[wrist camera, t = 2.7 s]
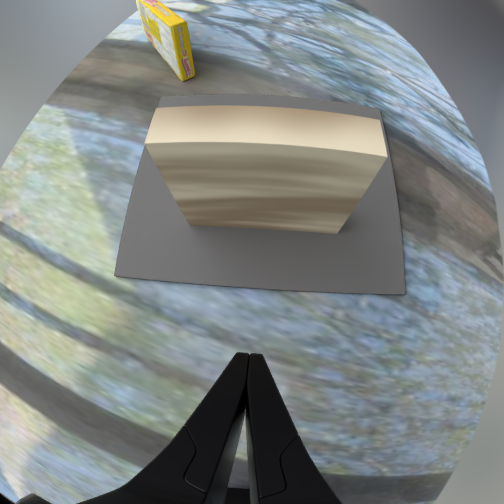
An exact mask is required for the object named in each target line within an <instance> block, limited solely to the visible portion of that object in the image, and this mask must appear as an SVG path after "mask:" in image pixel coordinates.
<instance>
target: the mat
mask: <svg viewBox="0 0 504 504" xmlns="http://www.w3.org/2000/svg"><path fill="white" fill-rule="evenodd" d="M219 105H229V106H265V107H282V108H295V109H306V110H316V111H325V112H333V113H340V114H347V115H354V116H360V117H366V118H372V119H377V120H380V123H381V128H382V132H383V137H384V141H385V146H386V151H387V156H388V157H387V159H386V160H385V162H384V163H383V165H382V167H381V168H380V170H379V171H378V173H377V175H376V176H375V178H374V179H373V181H372V182H371V184H370V185H369V187H368V188H367V190H366V192H365V193H364V195H363V196H362V198H361V199H360V201H359V202H358V204H357V205H356V207H355V208H354V210H353V211H352V213H351V214H350V216H349V217H348V219H347V220H346V222H345V223H344V224H343V226H342V227H341V229H340V230H339V232H338V233H337V234H331V233H318V232H303V231H289V230H273V229H257V228H239V227H221V226H201V225H189V224H188V222H187V220H186V219H185V217H184V215H183V213H182V211H181V210H180V208H179V206H178V204H177V203H176V201H175V199H174V197H173V195H172V194H171V192H170V190H169V188H168V186H167V185H166V183H165V181H164V179H163V177H162V176H161V174H160V172H159V170H158V168H157V166H156V164H155V163H154V161H153V159H152V157H151V155H150V153H149V151H148V150H147V148H146V146H144V150H143V153H142V156H141V160H140V163H139V167H138V170H137V174H136V177H135V181H134V185H133V188H132V192H131V196H130V200H129V204H128V209H127V213H126V217H125V222H124V226H123V231H122V236H121V241H120V246H119V251H118V256H117V262H116V268H115V273H114V276H116V277H125V278H135V279H145V280H155V281H165V282H176V283H188V284H200V285H212V286H225V287H239V288H253V289H269V290H286V291H305V292H326V293H352V294H385V295H405V275H404V258H403V245H402V234H401V224H400V216H399V208H398V200H397V193H396V187H395V180H394V174H393V169H392V163H391V158H390V153H389V148H388V143H387V139H386V134H385V130H384V125H383V121H382V117H381V113H380V109H378V108H372V107H367V106H361V105H355V104H349V103H342V102H335V101H328V100H319V99H310V98H300V97H288V96H273V95H249V94H206V95H182V96H167V97H161V100H160V102H159V105H158V108H165V107H182V106H219Z"/></svg>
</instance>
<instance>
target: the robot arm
mask: <svg viewBox="0 0 504 504" xmlns="http://www.w3.org/2000/svg"><path fill="white" fill-rule="evenodd" d="M245 409H246V413H245ZM244 416H246V437H247V454H248V471H249V486H250V489H237V488H227V486H228V482H229V478H230V474H231V470H232V466H233V462H234V458H235V454H236V450H237V446H238V442H239V438H240V433H241V429H242V425H243V421H244ZM184 425H185V426H183V427H182V428H181V429H180V431H179V432H178V433H177V434H176V436H175V437H174V438H173V439H172V440H171V442H170V443H169V444H168V445H167V446H166V447H165V448H164V449H163V450H162V451H161V452H160V453H159V454H158V455H157V456H156V457H155V458H154V459H153V460H152V461H151V462H150V463H149V464H148V465H147V466H146V467H145V468H144V469H143V470H141V471H140V472H139V473H138V474H137V475H136V476H135V477H134V478H133V479H131V480H130V481H129V482H128V483H126V484H125V485H123V486H122V487H120V488H118V489H116V490H114V491H111V492H108V493H106V494H103V495H100V496H98V497H95V498H92V499H89V500H86V501H83V502H80V503H77V504H342V502H341V501H340V500H339V499H338V497H337V496H336V495H335V493H334V492H333V491H332V489H331V488H330V486H329V485H328V483H327V482H326V481H325V479H324V478H323V476H322V475H321V473H320V472H319V471H318V469H317V467H316V466H315V464H314V463H313V461H312V459H311V458H310V456H309V454H308V452H307V450H306V448H305V446H304V445H303V442H302V440H301V438H300V436H299V435H298V432H297V430H296V428H295V426H294V423H293V421H292V419H291V417H290V415H289V412H288V410H287V408H286V406H285V404H284V401H283V399H282V397H281V395H280V393H279V390H278V388H277V386H276V384H275V381H274V379H273V377H272V375H271V372H270V370H269V368H268V365H267V363H266V361H265V359H264V356H263V355H262V354H256V353H251V354H250V356H249V354H248V353H242V352H237V353H236V354H235V355H234V357H233V358H232V360H231V361H230V362H229V364H228V365H227V367H226V368H225V370H224V371H223V372H222V374H221V375H220V377H219V378H218V379H217V381H216V382H215V383H214V385H213V386H212V388H211V389H210V390H209V392H208V393H207V394H206V396H205V397H204V399H203V400H202V401H201V403H200V404H199V405H198V407H197V408H196V409H195V411H194V412H193V413H192V415H191V416H190V417H189V419H188V420H187V421H186V423H185V424H184ZM0 504H52V503H50V502H48V501H46V500H44V499H43V498H41V497H39V496H37V495H36V494H34V493H31V494H29V495H27V496H25V497H23V498H22V499H20V500H19V501H17V503H15V502H13V501H12V500H10V499H9V498H7V497H6V496H5V495H3V494H2V493H0Z"/></svg>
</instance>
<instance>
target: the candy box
mask: <svg viewBox="0 0 504 504" xmlns="http://www.w3.org/2000/svg"><path fill="white" fill-rule="evenodd" d="M136 3H137V6H138V11H139V15H140V18H141V22H142V26H143V30H144V33H145V36H146V38H147V39H148V40H149V41H150V42H151V44H152V45H153V46H154V47H155V49H156V50H157V51H158V52H159V54H160V55H161V56H162V57H163V58H164V60H165V61H166V62H167V63H168V64H169V66H170V67H171V68H172V70H173V71H174V72H175V73H176V75H177V76H178V77H179V78H180V79H181V81H185V80H188V79H190V78H192V77H194V76H195V70H194V64H193V58H192V51H191V45H190V39H189V33H188V27H187V22H186V21H185V20H183V19H182V18H181V17H179V16H178V15H177V14H175V13H174V12H173V11H171V10H170V9H169V8H167V7H166V6H165V5H163V4H162V3H160V2H159V1H158V0H136Z"/></svg>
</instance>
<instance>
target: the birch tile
mask: <svg viewBox="0 0 504 504" xmlns="http://www.w3.org/2000/svg"><path fill="white" fill-rule="evenodd" d="M144 144H145V146H146V148H147V150H148V151H149V153H150V155H151V157H152V159H153V161H154V163H155V164H156V166H157V168H158V170H159V172H160V174H161V176H162V177H163V179H164V181H165V183H166V185H167V186H168V188H169V190H170V192H171V194H172V195H173V197H174V199H175V201H176V203H177V204H178V206H179V208H180V210H181V211H182V213H183V215H184V217H185V219H186V220H187V222H188V224H189V225H201V226H221V227H239V228H257V229H273V230H289V231H303V232H318V233H331V234H337V233H338V232H339V230H340V229H341V227H342V226H343V224H344V223H345V222H346V220H347V219H348V217H349V216H350V214H351V213H352V211H353V210H354V208H355V207H356V205H357V204H358V202H359V201H360V199H361V198H362V196H363V195H364V193H365V192H366V190H367V188H368V187H369V185H370V184H371V182H372V181H373V179H374V178H375V176H376V175H377V173H378V171H379V170H380V168H381V167H382V165H383V163H384V162H385V160H386V159H387V157H388V156H387V151H386V146H385V141H384V137H383V132H382V128H381V123H380V120H377V119H372V118H366V117H360V116H354V115H347V114H340V113H333V112H325V111H316V110H306V109H295V108H282V107H265V106H229V105H219V106H182V107H165V108H156V111H155V113H154V116H153V119H152V122H151V125H150V128H149V131H148V134H147V137H146V140H145V143H144Z"/></svg>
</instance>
